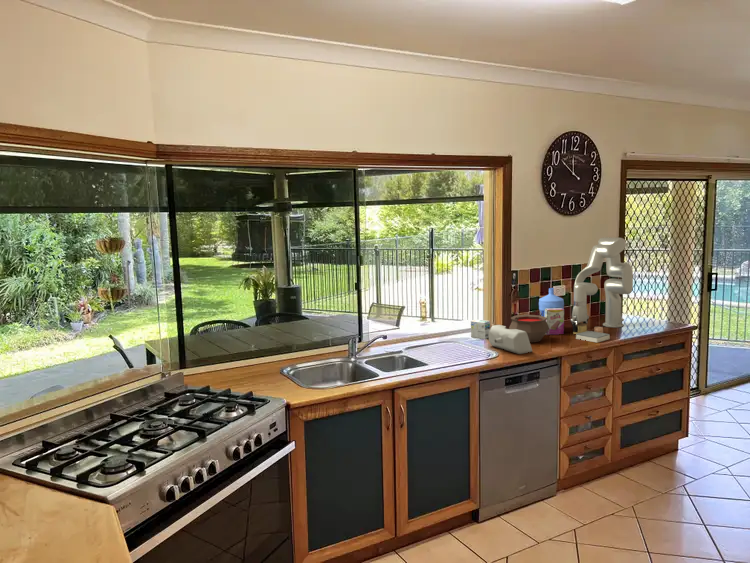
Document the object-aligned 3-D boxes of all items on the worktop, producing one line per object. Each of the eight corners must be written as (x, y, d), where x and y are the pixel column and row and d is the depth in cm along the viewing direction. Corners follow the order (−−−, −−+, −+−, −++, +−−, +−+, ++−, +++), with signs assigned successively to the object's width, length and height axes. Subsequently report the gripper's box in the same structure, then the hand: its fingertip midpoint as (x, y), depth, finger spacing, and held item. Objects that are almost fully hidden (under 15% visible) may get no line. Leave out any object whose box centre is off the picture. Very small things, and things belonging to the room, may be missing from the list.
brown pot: (531, 346, 309) (531, 319, 307) (500, 339, 329) (500, 313, 327) (557, 339, 322) (557, 313, 320) (526, 333, 342) (526, 308, 340)
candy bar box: (546, 335, 335) (546, 309, 333) (544, 333, 340) (544, 308, 338) (564, 334, 335) (564, 309, 333) (562, 333, 340) (562, 307, 338)
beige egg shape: (597, 334, 333) (597, 326, 332) (604, 335, 329) (604, 327, 328) (592, 335, 330) (592, 327, 330) (599, 336, 326) (600, 328, 326)
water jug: (558, 327, 356) (558, 286, 353) (567, 332, 340) (567, 289, 337) (535, 328, 355) (535, 287, 352) (543, 333, 340) (543, 290, 336)
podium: (588, 335, 330) (588, 330, 330) (609, 339, 319) (609, 334, 319) (575, 338, 323) (575, 333, 323) (596, 342, 312) (597, 337, 311)
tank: (482, 347, 312) (481, 326, 310) (503, 343, 319) (503, 323, 317) (510, 356, 290) (510, 334, 288) (532, 352, 296) (532, 330, 295)
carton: (577, 333, 338) (577, 322, 337) (586, 334, 332) (586, 323, 331) (573, 334, 335) (573, 323, 334) (582, 336, 330) (582, 324, 329)
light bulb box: (490, 337, 336) (490, 320, 334) (485, 339, 331) (484, 322, 330) (476, 335, 343) (476, 319, 342) (470, 337, 338) (470, 320, 337)
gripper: (583, 301, 339) (582, 327, 341) (566, 305, 329) (566, 332, 331) (593, 302, 333) (593, 329, 335) (577, 306, 323) (576, 333, 325)
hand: (579, 330), depth 333 cm, fingers open, 9 cm apart
